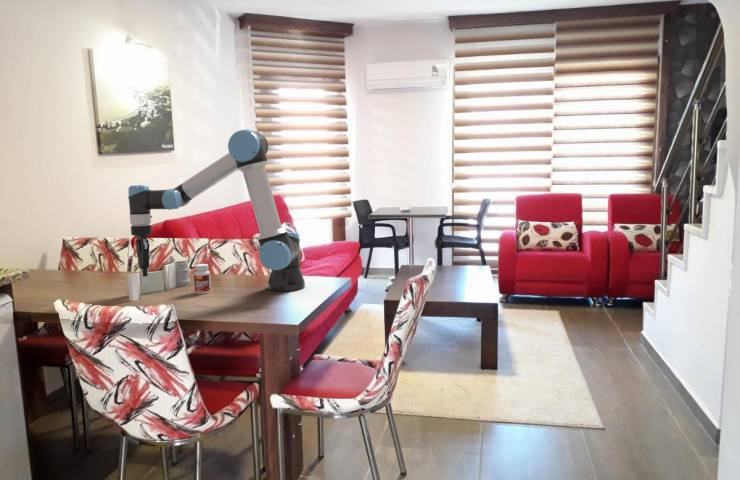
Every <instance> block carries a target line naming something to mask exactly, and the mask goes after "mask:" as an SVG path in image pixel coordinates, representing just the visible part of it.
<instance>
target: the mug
mask: <svg viewBox="0 0 740 480" xmlns="http://www.w3.org/2000/svg"><path fill="white" fill-rule="evenodd" d="M171 263H174V264H175V271H176V287H175V288H177V287H187V286H189V285H190V284H191V280H192V279H191V278H190V267H189V262H188V261H187V260H177V261H175V259H174V256H173V255H171V256H169V264H171Z"/></svg>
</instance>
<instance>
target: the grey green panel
mask: <svg viewBox="0 0 740 480" xmlns="http://www.w3.org/2000/svg"><path fill="white" fill-rule="evenodd" d="M128 275H129V274H127V275H126V283H127V296H128V297H129V285H128ZM148 276H149V284H145V285H141V275H140V273H139V282H140V295H143V294H147V293H148V294H150V293H155V292H161V291H162V292H163V291H165V282H164V270H157V271H148Z"/></svg>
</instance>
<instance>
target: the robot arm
mask: <svg viewBox="0 0 740 480" xmlns="http://www.w3.org/2000/svg"><path fill="white" fill-rule="evenodd" d="M227 149H228V153H227V154H225V155H224V156H222V157H220V158H218V159H217V160H216V161H214V162H213V163H211V164H209V165H208V166H206V167H205V168H203V169H201V170H200V171H198V173H196V174H194V175H193V176H191V177H190V178H188V179H186V180H185V181H183V182H182V183H180V184H179V185H178V186H175V187H174V188H169V189H156V190H155V189H154V190H153V189H150V187H149V185H148V184H145V185H142V184H138V185H135V184H134V185H133V184H132V185H129V186H128V194H127V195H128V204H129V206H128V207H129V222H130V223H129V224H130V225H131V226H130V235H131V236H134V237H136V239H135V248H136V254H137V263H138V269H139V274H140V275H141V285H145V284H149V276H148V272H149V268H150V246H151V245H150V243H149V239H148V237H147V236H150V235H152V233H153V229H152V225H151V223H152V218H153V216H152V215H151V210H169V211H170V210H177V209H180V208H182V207H184V206H187V205H188V204H189V203H190V202H191V201H192V200H193V199H195V198H196V197H198V196H200V195H201V194H202V193H204V192H205V191H207V190H209V189H211V188H212V187H214V186H215V185H217V184H218V183H219V182H221V181H223V180H224V179H226V178H228V177H229V176H231V175H232V174H234V173H236V172H237V171H239V172H241V173H242V175H243V178H244V182H245V185H246V189H247V192H248V196H249V199H250V203H251V207H252V209H253V213H254V217H255V221H256V224H257V227H258V231H259V235H258V237H257V241H258V245H259V252H258V258H259V261H260V262H261V264H262V265H263V266H264V267H265V268H267V269H268V270H271V271H270V275H269V278H268V281H267V290H270V291H274V292H292V291H299V290H302V289H304V288H305V287H306V281H305V278H304V275H303V272H302V270H301V253H300V251H301V250H300V248H301V247H300V246H301V245H300V241H301V240H300V233H298V232H288V230H286V229H285V228H283V227H282V223H281V220H280V216H279V212H278V209H277V205H276V202H275V198H274V194H273V191H272V186H271V184H270V181H269V177H268V173H267V168H266V165H267V164H268V162H269V161H268V158H267V154H268V151H269V142H268V140H267V138H266V136H265V135H263V133H260V132H259V131H254V130H251V129H240V130H236V131H235V132H234V133H233V134H231V136H230V137H229V140H228V144H227Z"/></svg>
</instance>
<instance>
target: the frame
mask: <svg viewBox="0 0 740 480" xmlns="http://www.w3.org/2000/svg"><path fill="white" fill-rule="evenodd" d="M139 274H140V272H132V273H129V274H127V275H128V285H129V296H128V297H129V298H128V299H129V301H130V302H134V301H138V300H140V299H141V294H140V282H139ZM163 281H164V291H168V290H172V289H174V288H177V287H176V271H175V264H174V263H171V264H165V265H163ZM128 285H127V286H128Z"/></svg>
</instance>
